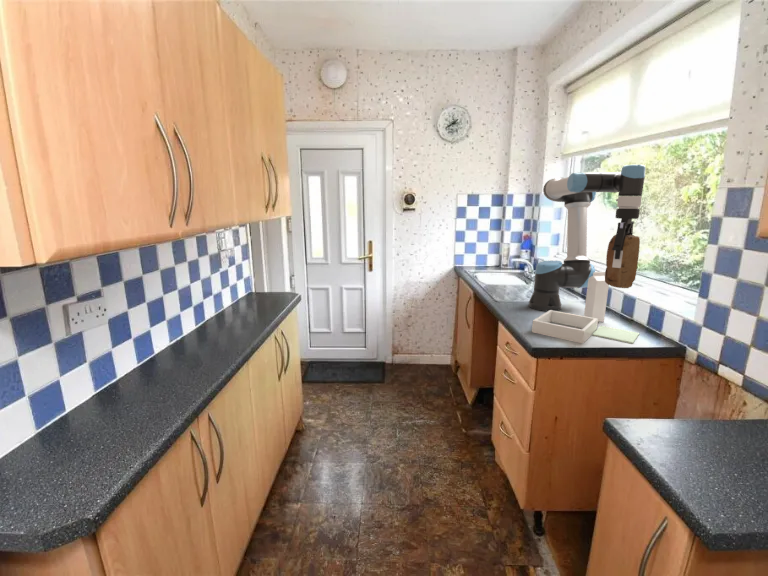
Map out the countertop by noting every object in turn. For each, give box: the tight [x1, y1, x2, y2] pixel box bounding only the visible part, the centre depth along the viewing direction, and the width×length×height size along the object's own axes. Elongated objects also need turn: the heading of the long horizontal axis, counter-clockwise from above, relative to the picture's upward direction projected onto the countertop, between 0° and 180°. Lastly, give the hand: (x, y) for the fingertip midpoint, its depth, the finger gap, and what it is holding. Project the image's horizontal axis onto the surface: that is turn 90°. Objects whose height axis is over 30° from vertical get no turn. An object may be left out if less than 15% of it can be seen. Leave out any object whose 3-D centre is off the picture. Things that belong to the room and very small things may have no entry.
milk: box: [583, 271, 610, 323], centre depth 174 cm, size 6×6×22 cm
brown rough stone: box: [604, 234, 641, 289], centre depth 150 cm, size 11×8×20 cm
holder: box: [531, 310, 598, 344], centre depth 160 cm, size 20×19×5 cm
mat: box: [591, 325, 640, 344], centre depth 157 cm, size 14×14×1 cm
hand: (620, 265), depth 150 cm, fingers closed on brown rough stone, 11 cm apart
